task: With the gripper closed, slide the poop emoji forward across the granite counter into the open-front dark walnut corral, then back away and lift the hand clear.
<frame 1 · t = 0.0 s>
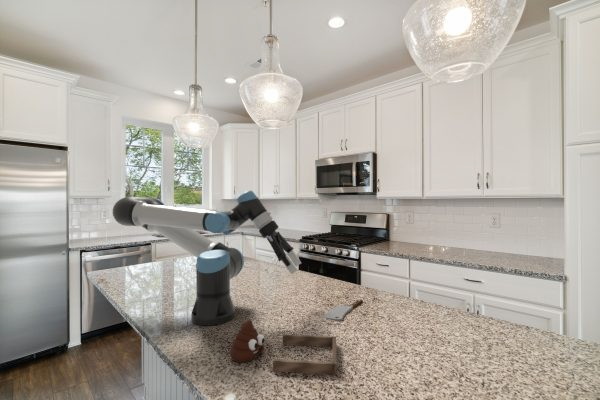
hand: (296, 268, 116), 15 cm above the countertop, tool tilted 35°, fingers open, 13 cm apart
walnut corral: (306, 357, 78), on the countertop
kitchen cleaver: (343, 310, 113), on the countertop
poop emoji: (247, 355, 80), on the countertop
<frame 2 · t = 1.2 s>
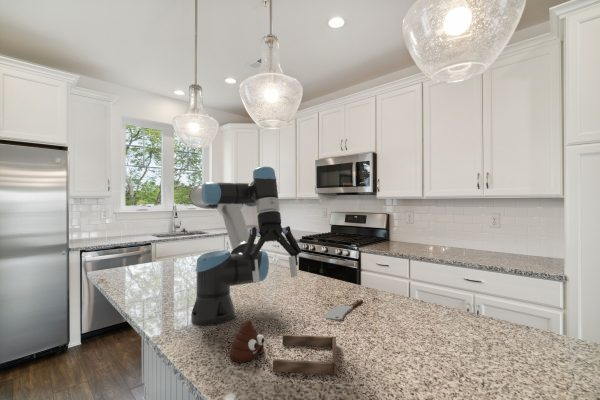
hand: (276, 279, 91), 17 cm above the countertop, tool tilted 15°, fingers open, 13 cm apart
nothing on the countertop moved.
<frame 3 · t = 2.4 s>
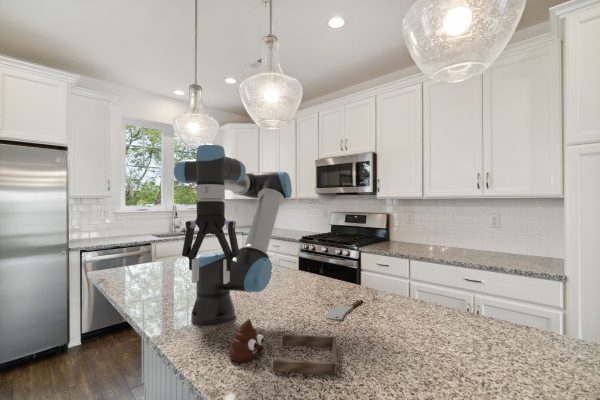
hand: (210, 282, 81), 19 cm above the countertop, tool pointing down, fingers open, 8 cm apart
nothing on the countertop moved.
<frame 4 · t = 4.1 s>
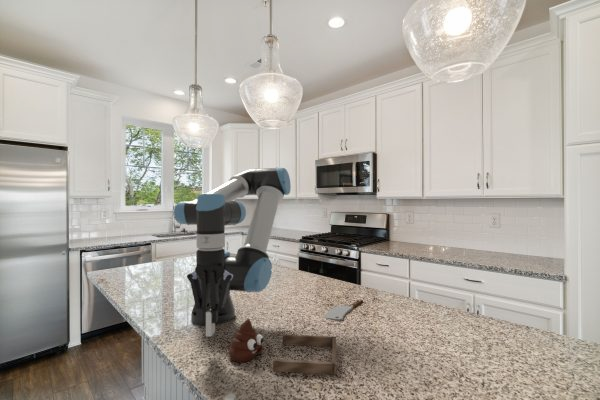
hand: (210, 334, 81), 5 cm above the countertop, tool pointing down, fingers closed
nothing on the countertop moved.
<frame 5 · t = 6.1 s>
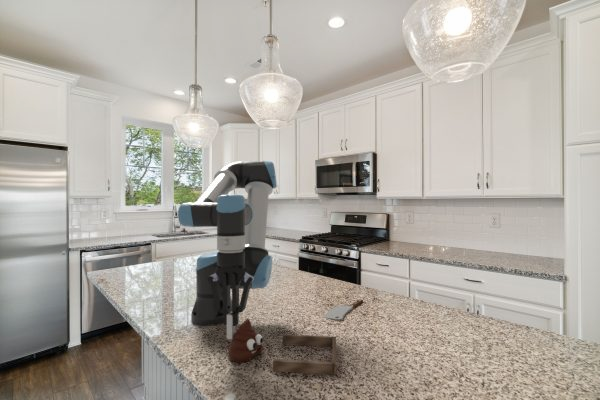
hand: (231, 336, 80), 5 cm above the countertop, tool pointing down, fingers closed
poop emoji: (246, 355, 80), on the countertop, touching gripper
everything else where it was.
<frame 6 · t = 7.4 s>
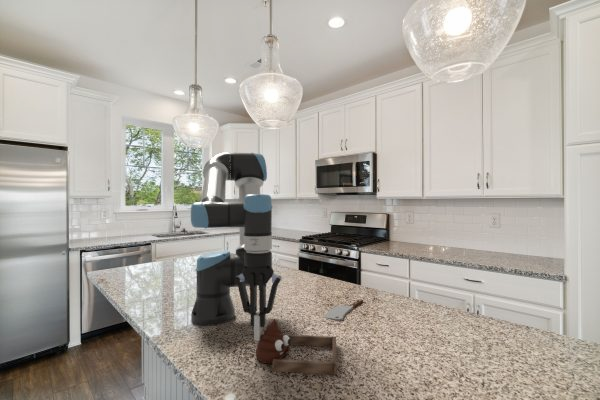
hand: (258, 338, 79), 5 cm above the countertop, tool pointing down, fingers closed
poop emoji: (273, 356, 79), on the countertop, touching gripper
everything else where it was.
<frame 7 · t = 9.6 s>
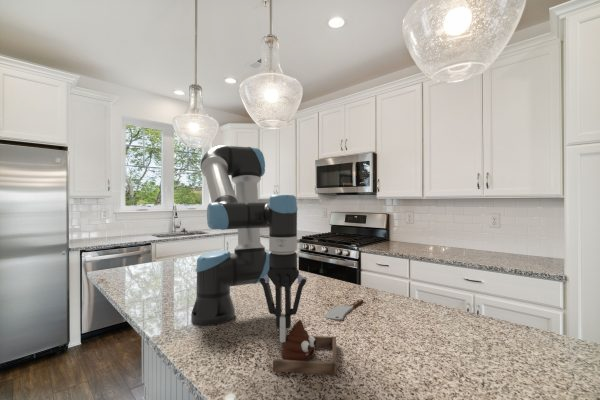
hand: (283, 339, 79), 4 cm above the countertop, tool pointing down, fingers closed
poop emoji: (298, 357, 79), on the countertop, touching gripper
everything else where it was.
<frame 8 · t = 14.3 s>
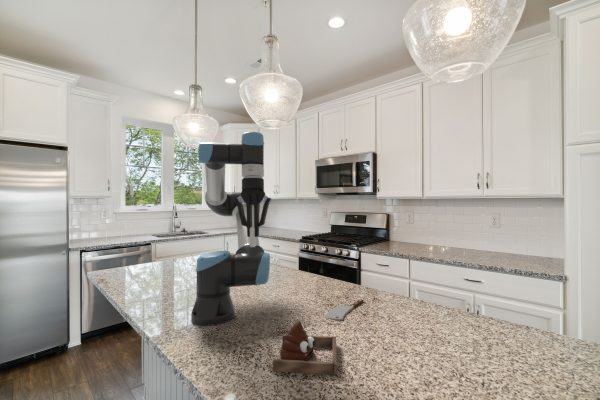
hand: (253, 246, 100), 26 cm above the countertop, tool pointing down, fingers closed
poop emoji: (297, 357, 79), on the countertop
everything else where it was.
at the end: poop emoji inside the target area (2.9 cm from its centre), on the countertop; poop emoji tilted 0°; the gripper is holding nothing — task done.
